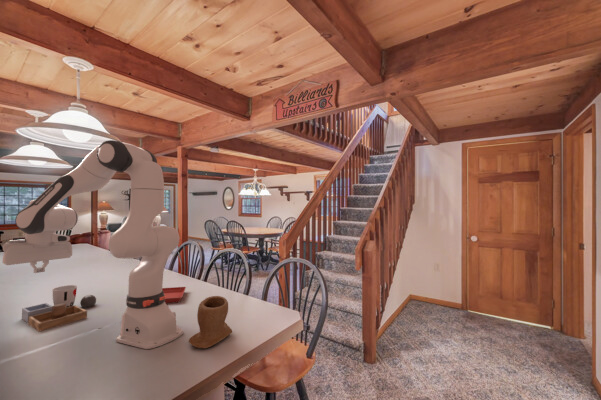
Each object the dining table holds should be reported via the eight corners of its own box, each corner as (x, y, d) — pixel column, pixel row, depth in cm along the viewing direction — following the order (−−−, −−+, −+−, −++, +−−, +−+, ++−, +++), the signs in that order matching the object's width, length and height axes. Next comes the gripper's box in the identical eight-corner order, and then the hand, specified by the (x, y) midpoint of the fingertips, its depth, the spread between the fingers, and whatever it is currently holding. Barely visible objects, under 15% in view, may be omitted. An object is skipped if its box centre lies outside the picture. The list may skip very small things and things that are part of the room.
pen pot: (52, 318, 108) (52, 306, 108) (27, 325, 102) (28, 312, 102) (45, 314, 112) (46, 302, 112) (21, 320, 106) (22, 308, 106)
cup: (61, 315, 112) (62, 291, 112) (46, 313, 113) (47, 289, 114) (80, 308, 120) (81, 285, 120) (66, 306, 121) (67, 284, 122)
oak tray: (86, 319, 108) (87, 310, 108) (38, 333, 95) (39, 323, 96) (74, 313, 114) (75, 305, 114) (28, 326, 101) (28, 316, 101)
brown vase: (208, 355, 83) (209, 307, 83) (183, 345, 89) (184, 300, 89) (241, 335, 96) (242, 294, 97) (217, 328, 102) (218, 289, 102)
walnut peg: (67, 320, 105) (67, 304, 105) (53, 323, 102) (54, 308, 102) (63, 317, 107) (63, 302, 108) (49, 321, 104) (50, 305, 104)
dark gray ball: (98, 307, 121) (98, 294, 121) (83, 311, 116) (83, 298, 116) (92, 304, 124) (93, 292, 124) (77, 308, 119) (78, 295, 119)
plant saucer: (185, 292, 145) (186, 286, 145) (182, 303, 128) (182, 296, 128) (148, 295, 140) (149, 288, 140) (139, 307, 122) (139, 300, 123)
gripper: (5, 241, 97) (3, 279, 97) (74, 236, 115) (73, 268, 115) (0, 240, 101) (-2, 276, 100) (68, 235, 118) (67, 266, 118)
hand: (39, 272), depth 107 cm, fingers closed
